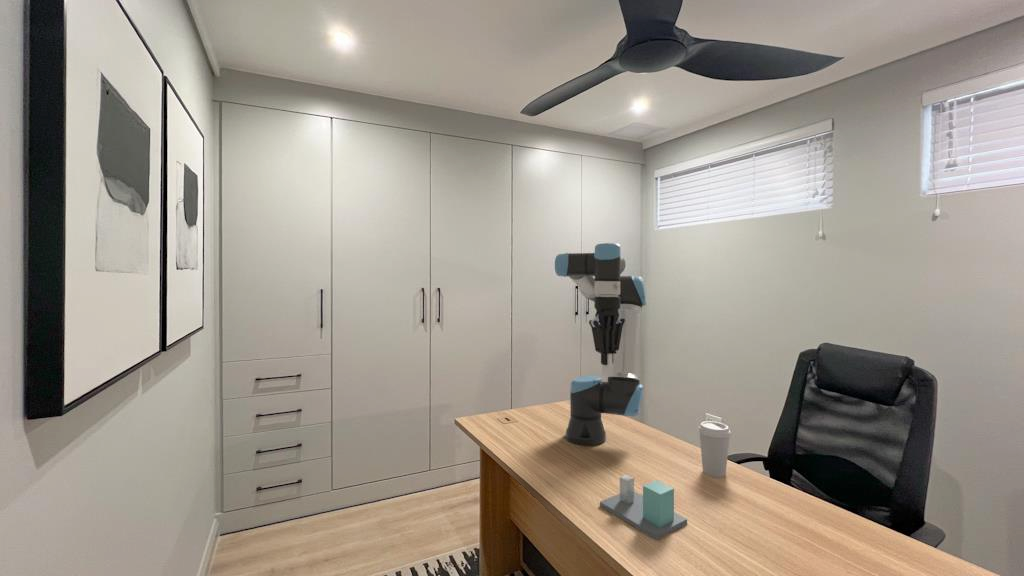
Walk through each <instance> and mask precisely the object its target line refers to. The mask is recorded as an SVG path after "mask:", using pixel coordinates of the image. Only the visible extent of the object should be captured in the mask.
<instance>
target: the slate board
mask: <svg viewBox="0 0 1024 576" xmlns="http://www.w3.org/2000/svg"><path fill="white" fill-rule="evenodd" d="M599 507H601V508H603V509H604V510H605V511H606V512H608V513H610V514H612V515H614V516H616V517H617V518H619V519H621V520H622V521H624V522H626V523H627V524H628V525H630V526H632V527H633V528H635V529H636V530H639V531H640V532H642V533H644V534H645V535H646V536H649V537H650V538H651V539H653V540H655V541H657V540H659V539H661V538H663V537H665V536H666V535H669V534H670V533H672V532H674V531H676V530H678V529H680V528H682V527H683V526H686V525H687V524H688V519H687V518H686V517H684V516H683V515H680V514H678V513H677V512H675V511H674V521H672V522H670V523H668V524H666V525H664V526H662V527H659V526H657V525H655V524H654V523H652V522H650V521H648V520H647V519H645V518H643V494H640V493H638V492H636V491H634V502H633V503H631V504H629V505H626V504H624V503H623V502H621V501H620V493H618V494H615V495H613V496H611V497H608V498H605V499H603V500H601V501H599Z"/></svg>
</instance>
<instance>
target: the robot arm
mask: <svg viewBox="0 0 1024 576" xmlns="http://www.w3.org/2000/svg"><path fill="white" fill-rule="evenodd" d="M625 269H626V260H625V257H624V256H623V255H622V251H621V245H620V244H619V243H614V242H612V243H610V242H607V243H604V242H603V243H597V244H596V245H595V246H594V252H587V253H586V252H583V253H581V252H575V253H573V252H572V253H571V252H565V253H559V254H557V255H556V256H555V259H554V271H555V274H556V276H558V277H563V278H566V277H569V278H570V279H571V280H572V282H573V283H574V284H575V285H576V286H577V287H578V288H579V292H580V293H581V295H582V296H583V297H585V298H586V299H588V300H590V301H591V302H594V304H593V305H594V309H595V311H596V312H595V316H594V318H593V319H589V321H588V323H589V324H588V325H590V328H591V333H592V338H593V344H594V349H595V352H597V353H599V354H600V363H601V375H602V376H605V377H607V381H603V380H602V377H601V376H598V375H597V376H596V375H588V376H580V377H576V378H574V379H572V381H570V391H569V393H570V397H569V399H570V401H569V403H570V407H569V408H570V409H569V410H570V418H569V421H568V425H567V428H566V430H565V438H566V440H567V441H569V442H570V443H573V444H577V445H581V446H596V445H601V444H603V443H605V442H606V440H607V434H606V431H605V427H604V423H603V421H602V414H606V415H613V416H615V415H616V416H624V417H637V416H639V414H640V412H641V408H642V403H643V399H644V398H643V397H644V385H642V384H641V383H640V381H641V380H640V378H639V377H638V376H637V374H636V372H637V371H636V370H637V348H638V347H637V345H638V344H637V343H638V321H639V320H638V319H639V318H638V317H639V316H638V315H639V313H640V312H642V311H643V307H644V306H646V305H647V297H646V290H645V283H644V282H645V281H644V279H643V277H641V276H638V275H637V276H635V275H621V274H623V272H624V271H625Z"/></svg>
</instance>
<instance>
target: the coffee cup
mask: <svg viewBox="0 0 1024 576" xmlns="http://www.w3.org/2000/svg"><path fill="white" fill-rule="evenodd" d="M697 432H698V434H699V442H700V453H701V455H700V456H701V465H702V467H701V468H702V472H703V474H704V475H707V476H709V477H712V478H724V477H726V475H727V464H728V455H729V454H728V453H729V447H730V445H729V444H730V437H731V436H732V432H731V430H730V428H729V426H728V425H727V424H725V423H722V422H719V421H710V420H707V421H705V420H704V421H701V423H700V425H699V426H698V427H697Z"/></svg>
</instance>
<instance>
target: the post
mask: <svg viewBox="0 0 1024 576" xmlns="http://www.w3.org/2000/svg"><path fill="white" fill-rule="evenodd" d="M634 492H635V478H634V477H632V476H630V475H628V474H624V475H621V476H619V494H620V501H621V502H623V503H624V504H626V505H629V504H631V503H633V502H634Z"/></svg>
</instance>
